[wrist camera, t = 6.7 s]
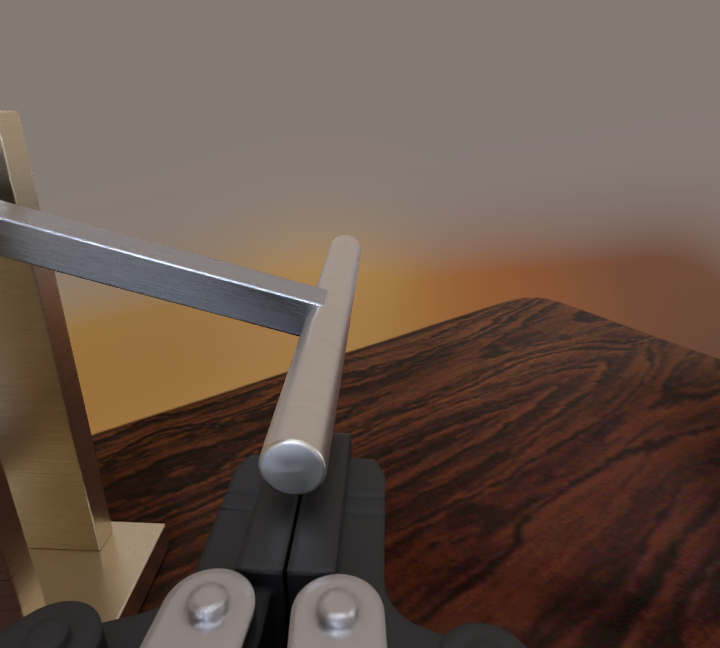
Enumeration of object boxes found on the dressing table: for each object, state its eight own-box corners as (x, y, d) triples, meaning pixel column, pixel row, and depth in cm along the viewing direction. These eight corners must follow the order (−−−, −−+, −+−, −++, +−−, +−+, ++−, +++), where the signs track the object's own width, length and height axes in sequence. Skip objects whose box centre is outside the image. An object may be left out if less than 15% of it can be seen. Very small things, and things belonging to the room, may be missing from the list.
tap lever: (351, 284, 20) (369, 221, 19) (308, 534, 9) (345, 416, 8) (-12, 184, 19) (-12, 112, 18) (-538, 328, 8) (-609, 168, 7)
